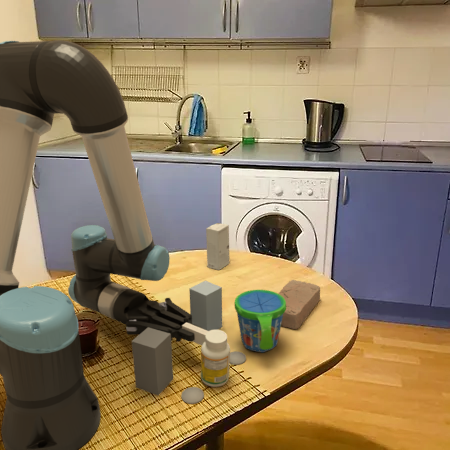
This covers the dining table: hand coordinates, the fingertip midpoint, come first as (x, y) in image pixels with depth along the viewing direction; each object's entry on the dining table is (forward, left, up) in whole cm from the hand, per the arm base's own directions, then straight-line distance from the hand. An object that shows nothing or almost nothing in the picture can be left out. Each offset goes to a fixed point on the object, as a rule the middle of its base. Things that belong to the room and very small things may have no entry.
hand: (210, 340), depth 87 cm
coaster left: (-8, -2, -6) cm, 10 cm away
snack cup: (+13, -3, -7) cm, 15 cm away
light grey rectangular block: (+11, +10, -7) cm, 16 cm away
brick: (+29, -2, -7) cm, 30 cm away
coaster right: (+6, -2, -6) cm, 9 cm away
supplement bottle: (-2, -2, -6) cm, 7 cm away
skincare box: (+39, +28, -7) cm, 49 cm away
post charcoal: (-9, +6, -7) cm, 13 cm away
